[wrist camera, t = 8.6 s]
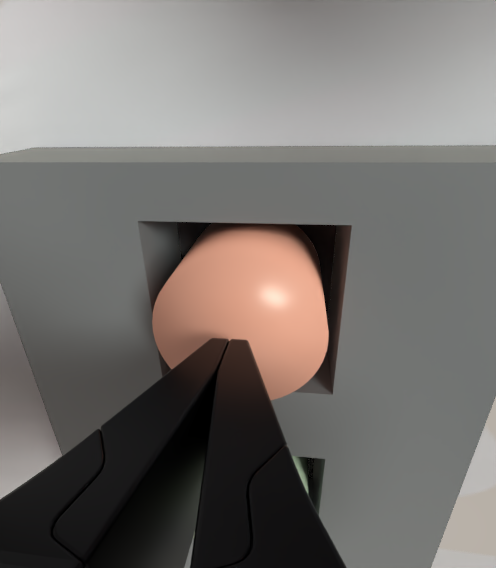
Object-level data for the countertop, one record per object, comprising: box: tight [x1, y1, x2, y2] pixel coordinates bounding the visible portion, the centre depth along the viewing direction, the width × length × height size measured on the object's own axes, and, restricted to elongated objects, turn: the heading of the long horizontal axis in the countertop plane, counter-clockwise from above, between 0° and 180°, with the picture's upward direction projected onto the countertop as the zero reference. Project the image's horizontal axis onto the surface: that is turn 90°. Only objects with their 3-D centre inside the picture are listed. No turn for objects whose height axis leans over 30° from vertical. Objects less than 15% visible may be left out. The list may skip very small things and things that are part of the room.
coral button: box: [152, 223, 329, 400], centre depth 11 cm, size 4×4×4 cm
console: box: [0, 145, 496, 568], centre depth 15 cm, size 14×24×3 cm, turn 1°
